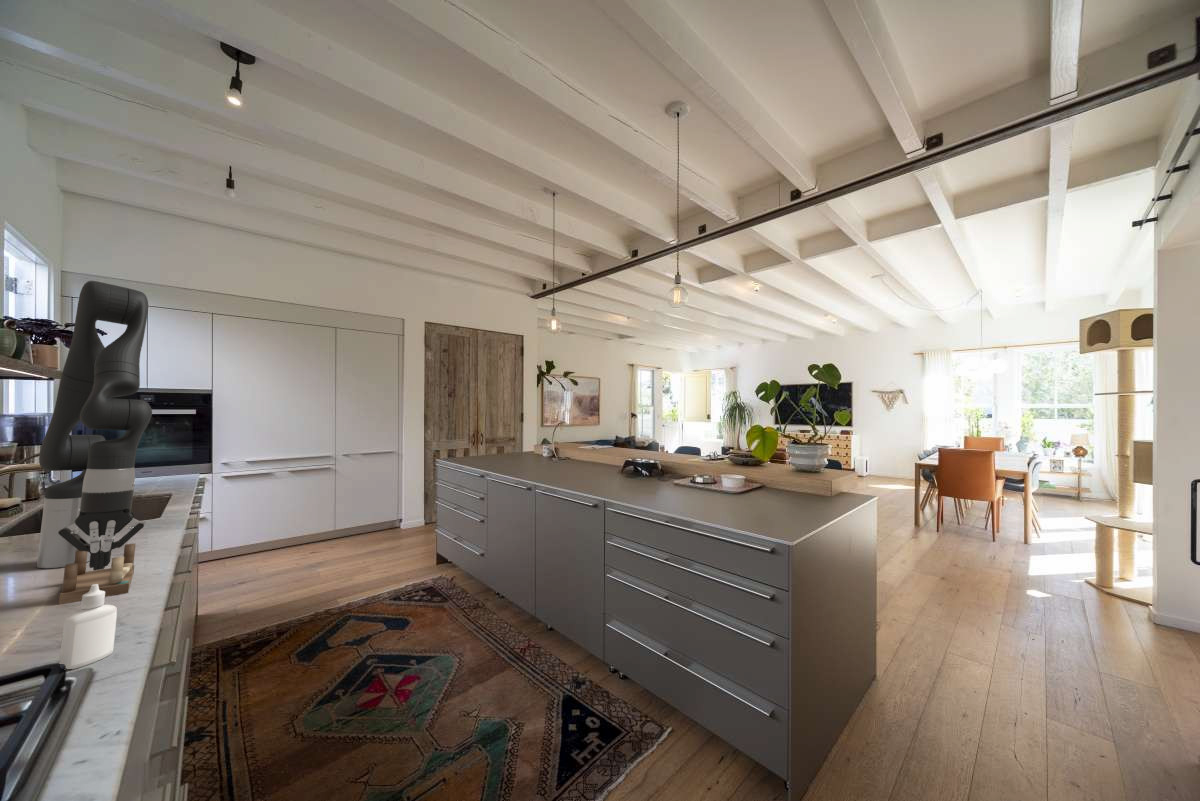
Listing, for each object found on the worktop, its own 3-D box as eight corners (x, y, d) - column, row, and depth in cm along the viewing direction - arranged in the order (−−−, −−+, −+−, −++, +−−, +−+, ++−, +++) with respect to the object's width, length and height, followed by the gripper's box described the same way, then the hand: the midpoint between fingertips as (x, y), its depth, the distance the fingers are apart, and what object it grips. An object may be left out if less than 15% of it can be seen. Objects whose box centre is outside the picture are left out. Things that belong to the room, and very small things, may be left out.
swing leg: (121, 569, 102) (124, 547, 102) (133, 568, 103) (135, 546, 103) (108, 584, 93) (110, 559, 94) (120, 582, 94) (123, 558, 95)
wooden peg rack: (72, 582, 100) (76, 549, 100) (133, 573, 106) (136, 542, 107) (58, 604, 88) (62, 567, 89) (127, 592, 95) (131, 558, 95)
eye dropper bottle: (113, 659, 70) (121, 583, 70) (58, 673, 65) (67, 593, 66) (112, 649, 72) (120, 577, 73) (59, 663, 68) (67, 585, 69)
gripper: (56, 492, 88) (45, 579, 86) (149, 489, 96) (140, 568, 95) (67, 488, 93) (57, 569, 92) (154, 484, 102) (145, 559, 101)
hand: (99, 568), depth 94 cm, fingers closed
